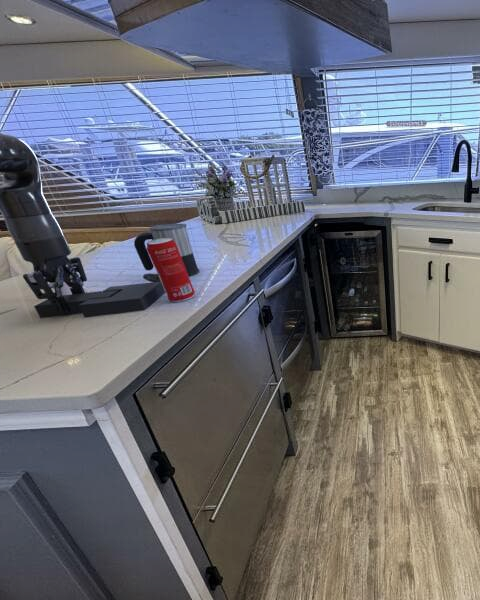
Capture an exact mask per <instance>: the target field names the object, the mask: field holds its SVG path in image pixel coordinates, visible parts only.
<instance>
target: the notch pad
mask: <svg viewBox="0 0 480 600" xmlns="http://www.w3.org/2000/svg"><path fill="white" fill-rule="evenodd" d="M117 290H118V291H119V292H118V293H117V294H115V295H114V296H112V297H108V298H99V299H90V300H87V301H85V302H83V303H82V304H80V305H79V307H80V309H81V311H82V313H81V314H82V315H83V317H84V318H89V317H90V318H91V317H97V316H98V317H99V316H105V315H106V316H107V315H115V314H123V313H132V312H139V311H145V310H147V309H148V308H149V307H150V306H151V305H152V304H154V303H155V302H156V301H157V300H158V299H160V298H161V297H162V295H164V294H166V292H165V290H164V287H163V285H162V283H161V282H151V281H150V282H143V283H134V284H133V283H132V284H124V285H113V286H108V287H107V288H105V289H103V290H101V291H102V292H108V291H117Z"/></svg>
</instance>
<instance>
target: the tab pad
mask: <svg viewBox="0 0 480 600" xmlns="http://www.w3.org/2000/svg"><path fill="white" fill-rule="evenodd" d="M102 291H103V290H97V291H91V292H85V293H80V294H71V295H62V297H64V299H65V301H66V303H67V305H68V307H69V309H70V311H69V312H67V313H60V314H59V313H57V312H56V311H55V310H54V308H53V306H52V304H51V302H50V300H49V299H44V301H42V302H40V303H37V304H36V305H34V306H33V307H34V309H35V311H36V312H37V314H38V316H39V318H40V319H44V318H53V317H62V316H69V315H77V314H78V315H79V314H83V313H82V311H81V309H80V307H79V305H80V304H82V303H83V302H85V301H87V300H90V299H99V298H108V297H112V296H114V295H115V294H117V293H118V292H119V291H118V290H117V291H108V292H102Z"/></svg>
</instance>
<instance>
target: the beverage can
mask: <svg viewBox="0 0 480 600" xmlns="http://www.w3.org/2000/svg"><path fill="white" fill-rule="evenodd" d="M146 249H147V251H148V253H149V256H150V258H151V261H152V263H153V266H154V270H155V271H156V274H158V276H159V278H160V281H161V283H162V285H163V287H164V290H165V295H166V297H167V299H168V301H169V302H171V303H180V302H181V303H182V302H184V301H188V300H190V299H192V298H193V297H195V294H196V292H195V288H194V286H193V283H192V281H191V279H190V276H188V273H187V271H186V268H185V266H184V263H183V260H182V258H181V255H180V253H179V250H178V247H177V245H176V243H175V242H174V241H173V239H172V238H159V239H154V240H152V239H150V240H147V242H146Z"/></svg>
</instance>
